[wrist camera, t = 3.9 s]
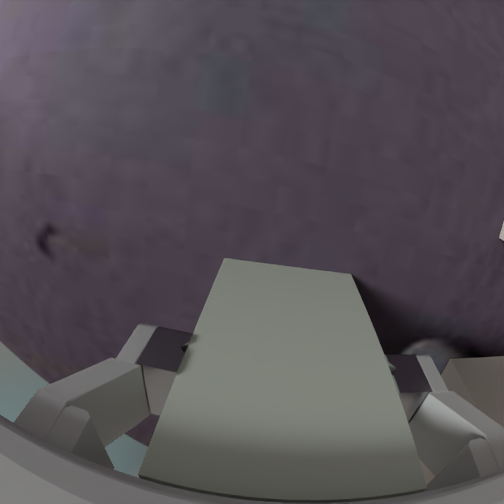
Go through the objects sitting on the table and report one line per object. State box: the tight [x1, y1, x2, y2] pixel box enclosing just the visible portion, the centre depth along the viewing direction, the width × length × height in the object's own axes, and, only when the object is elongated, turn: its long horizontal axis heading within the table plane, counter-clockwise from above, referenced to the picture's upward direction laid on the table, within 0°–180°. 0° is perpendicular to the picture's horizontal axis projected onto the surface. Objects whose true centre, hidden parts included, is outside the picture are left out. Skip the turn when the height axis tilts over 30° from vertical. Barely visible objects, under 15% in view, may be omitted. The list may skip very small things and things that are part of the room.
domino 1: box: [138, 258, 427, 503], centre depth 8 cm, size 2×5×9 cm, turn 84°
